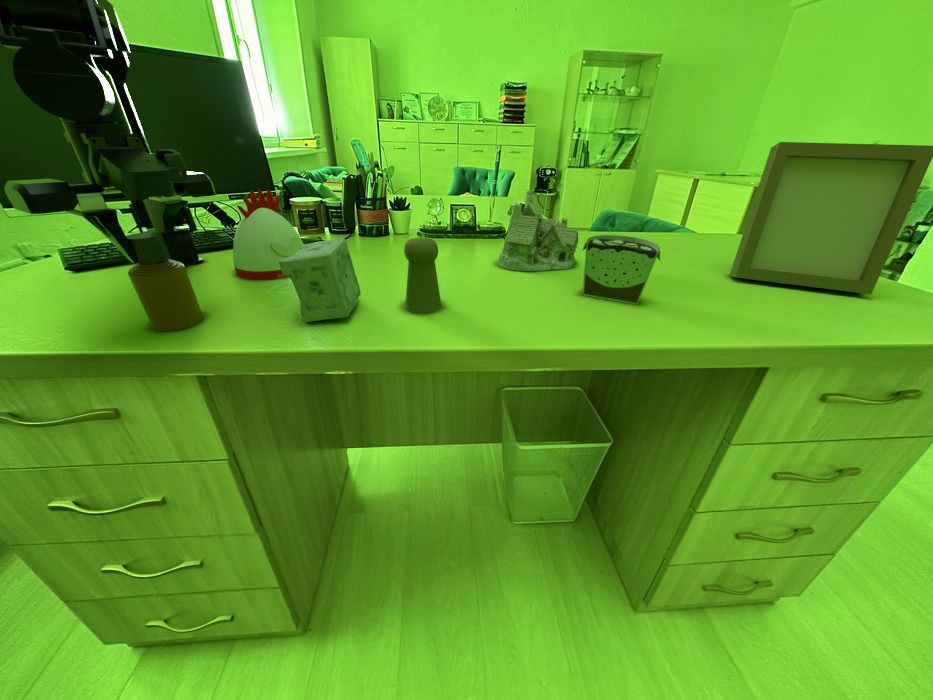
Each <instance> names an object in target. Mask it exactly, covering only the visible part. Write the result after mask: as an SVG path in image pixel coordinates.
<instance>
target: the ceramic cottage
mask: <svg viewBox="0 0 933 700" xmlns="http://www.w3.org/2000/svg"><path fill="white" fill-rule="evenodd" d="M525 195H526V196H525V197H524V209H523V210H522V204H521V203H514V204H513V205H512V210H511V214H510V217H509V225H508V230H507V234H506V236H505V238H504V242H503V247H502V249H501V252H500V253H499V255H498V259H497V264H498V265H497V266H499V267H500V268H502V269H506V270H511V271H516V272H517V271H519V272H521V271H522V272H523V271H524V272H536V271H537V272H540V271H550V270H553V271H554V270H567V269H571V268H572V267H574V265H575V264H576V257H575V253H576V251H577V250H576V249H577V248H578V243H579V230H578V229H569V228H568V217H562V218H561V221H560V220H559V219H556V218H555V219H554V218H545V217H543V214H542V212H541V210H540V209H539V208H538V203H537V202H536V201H535V200H534V195H533V190H526V193H525Z"/></svg>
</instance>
